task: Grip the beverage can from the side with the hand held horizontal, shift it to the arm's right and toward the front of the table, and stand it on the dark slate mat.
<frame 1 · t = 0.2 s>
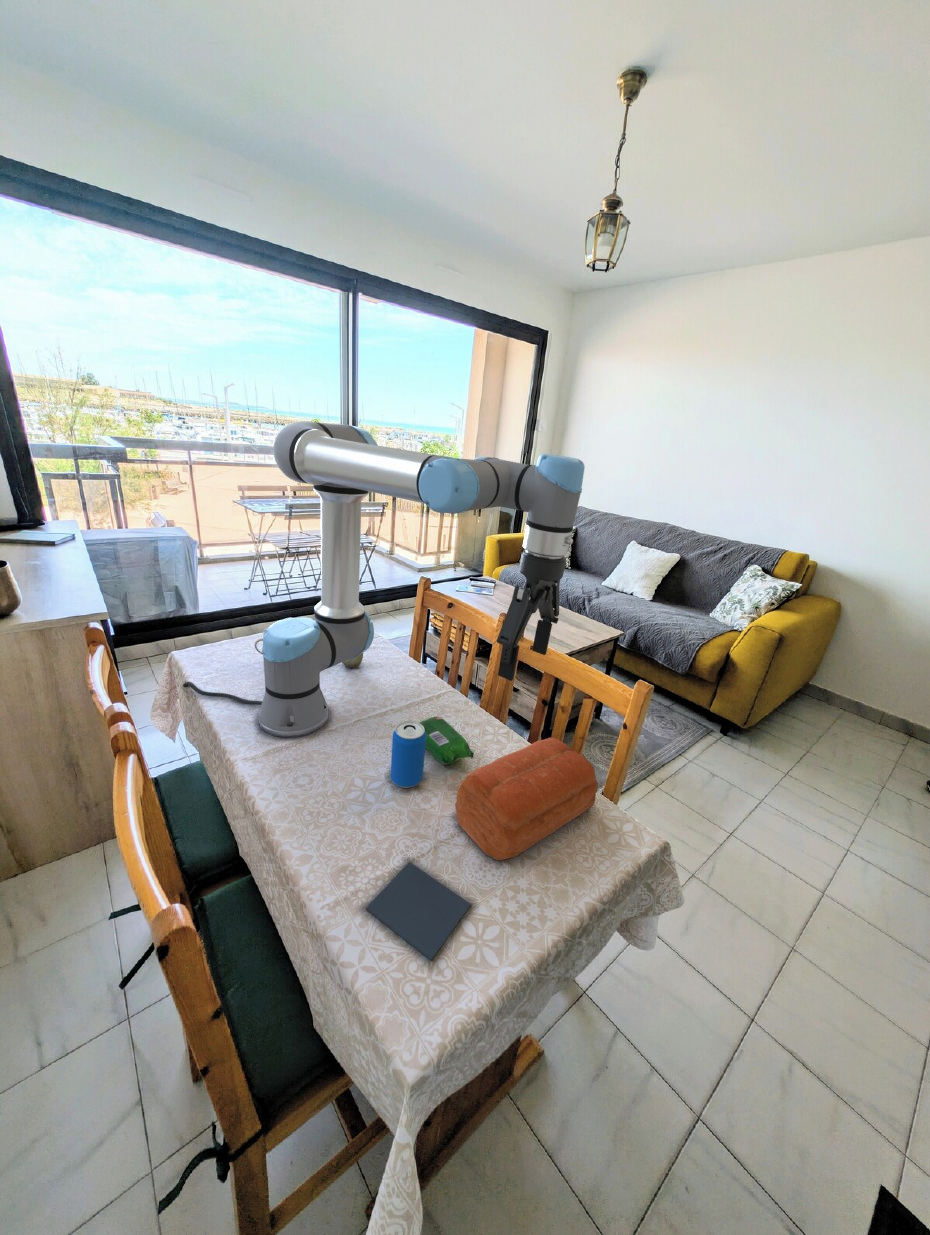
hand: (523, 664, 87), 28 cm above the table, tool pointing down, fingers open, 13 cm apart
beverage can: (406, 779, 95), on the table
mug: (278, 666, 131), on the table
bread: (525, 810, 90), on the table
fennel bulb: (351, 666, 135), on the table
snack package: (440, 750, 104), on the table
slate mat: (419, 907, 70), on the table
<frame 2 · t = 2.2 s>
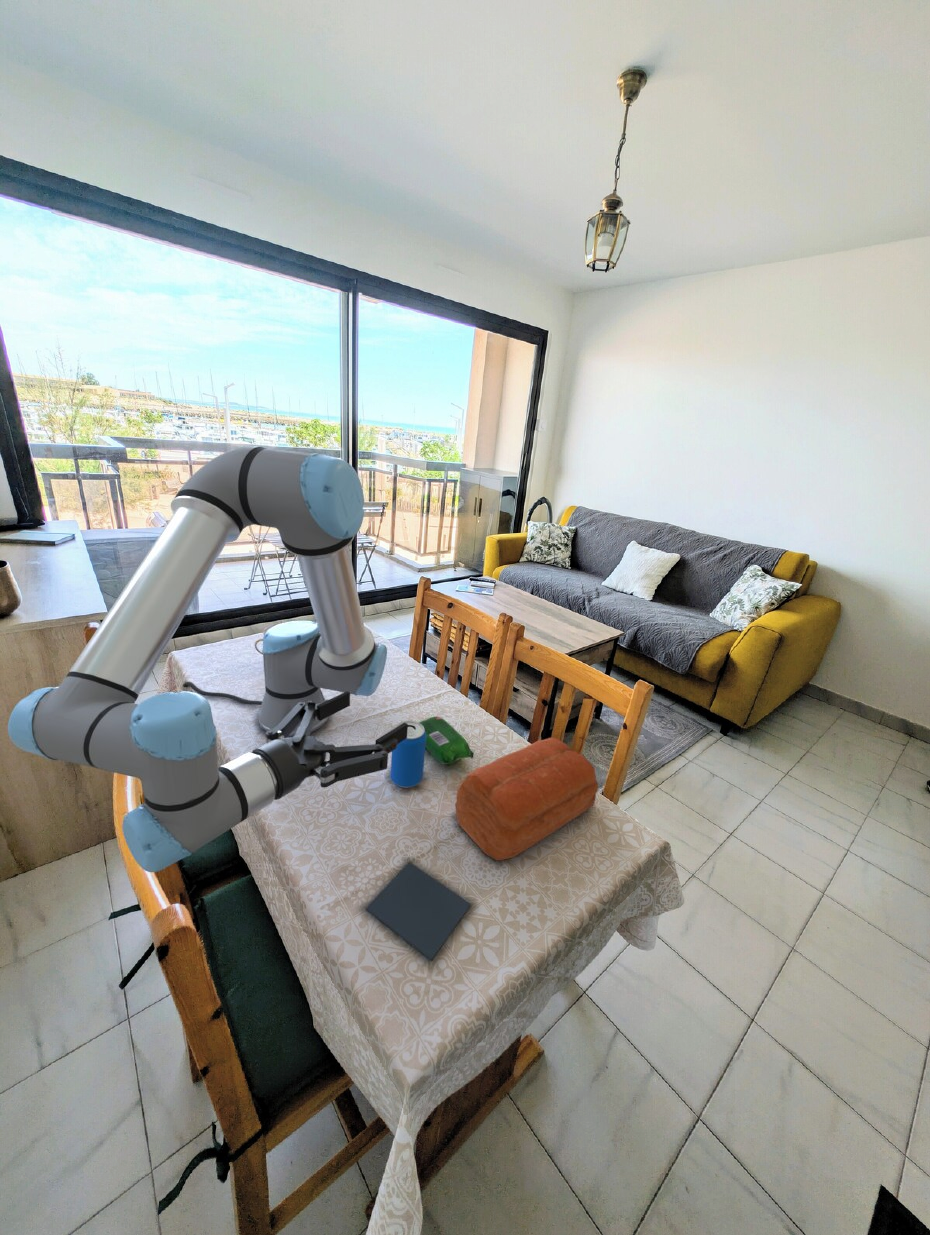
hand: (376, 713, 80), 20 cm above the table, tool horizontal, fingers open, 13 cm apart
nothing on the table moved.
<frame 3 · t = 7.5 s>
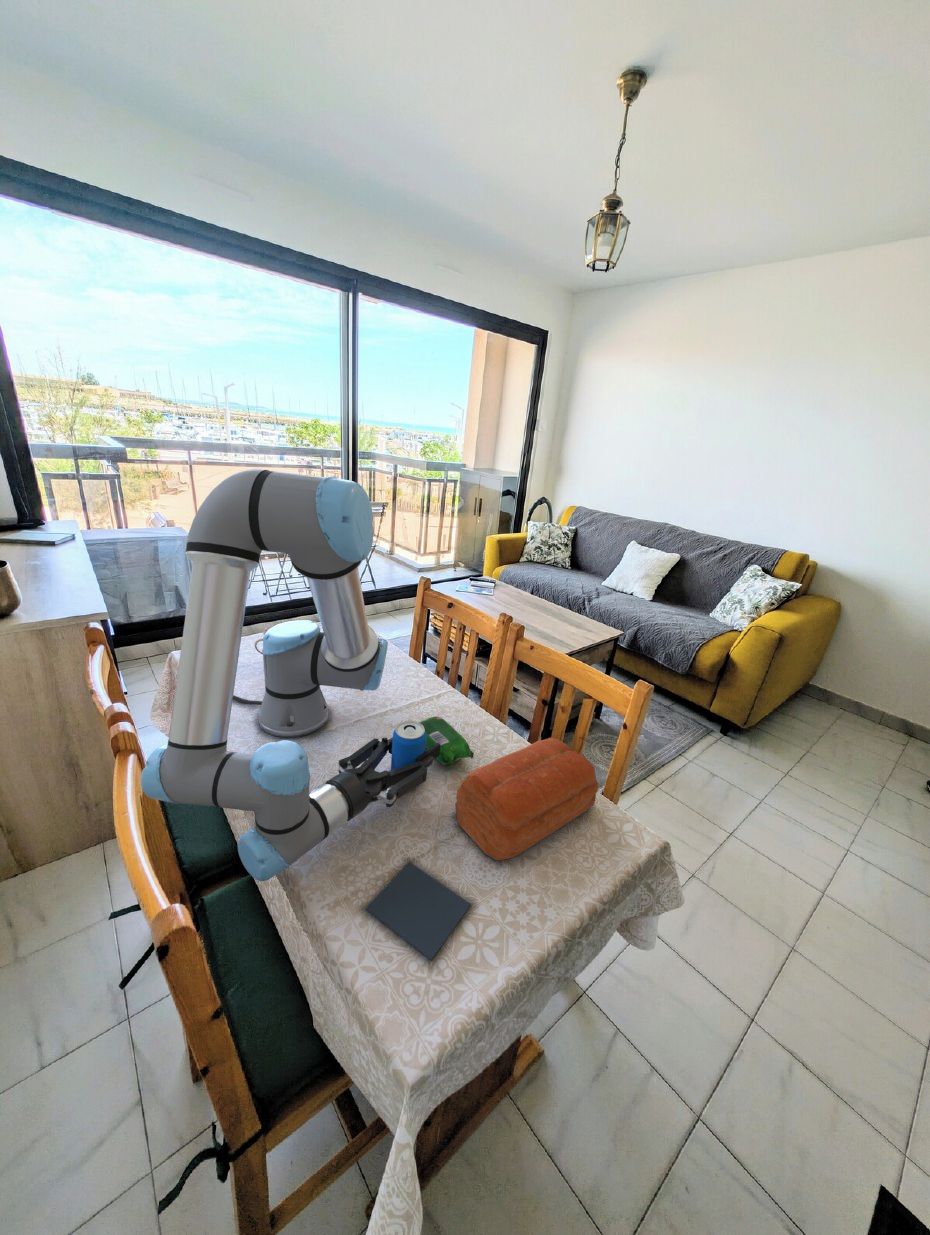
hand: (424, 741, 96), 6 cm above the table, tool horizontal, fingers closed on beverage can, 6 cm apart
beverage can: (406, 779, 95), on the table, touching gripper
everything else where it was.
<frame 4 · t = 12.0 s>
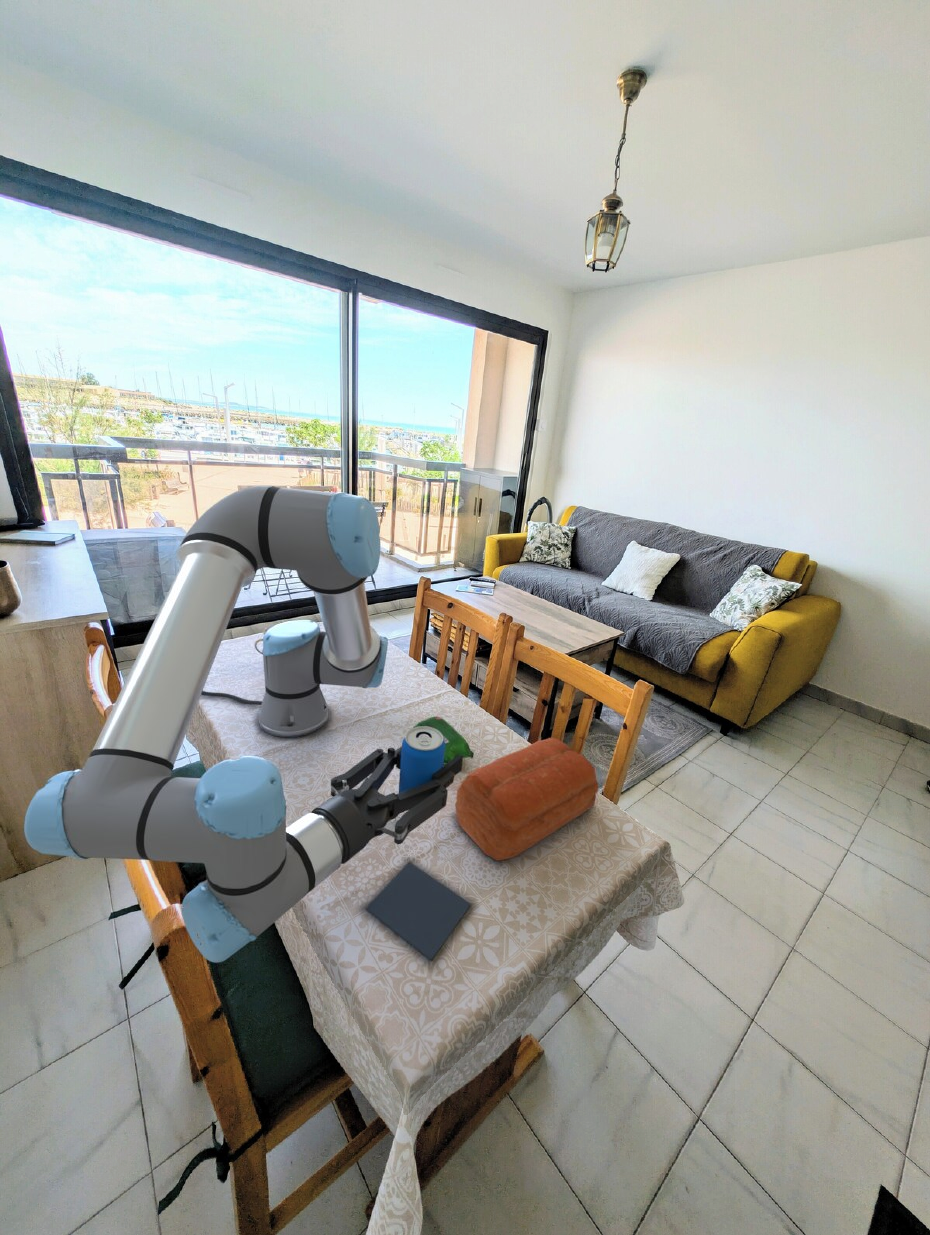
hand: (442, 752, 75), 18 cm above the table, tool horizontal, fingers closed on beverage can, 6 cm apart
beverage can: (418, 801, 74), point 12 cm above the table, touching gripper
everything else where it was.
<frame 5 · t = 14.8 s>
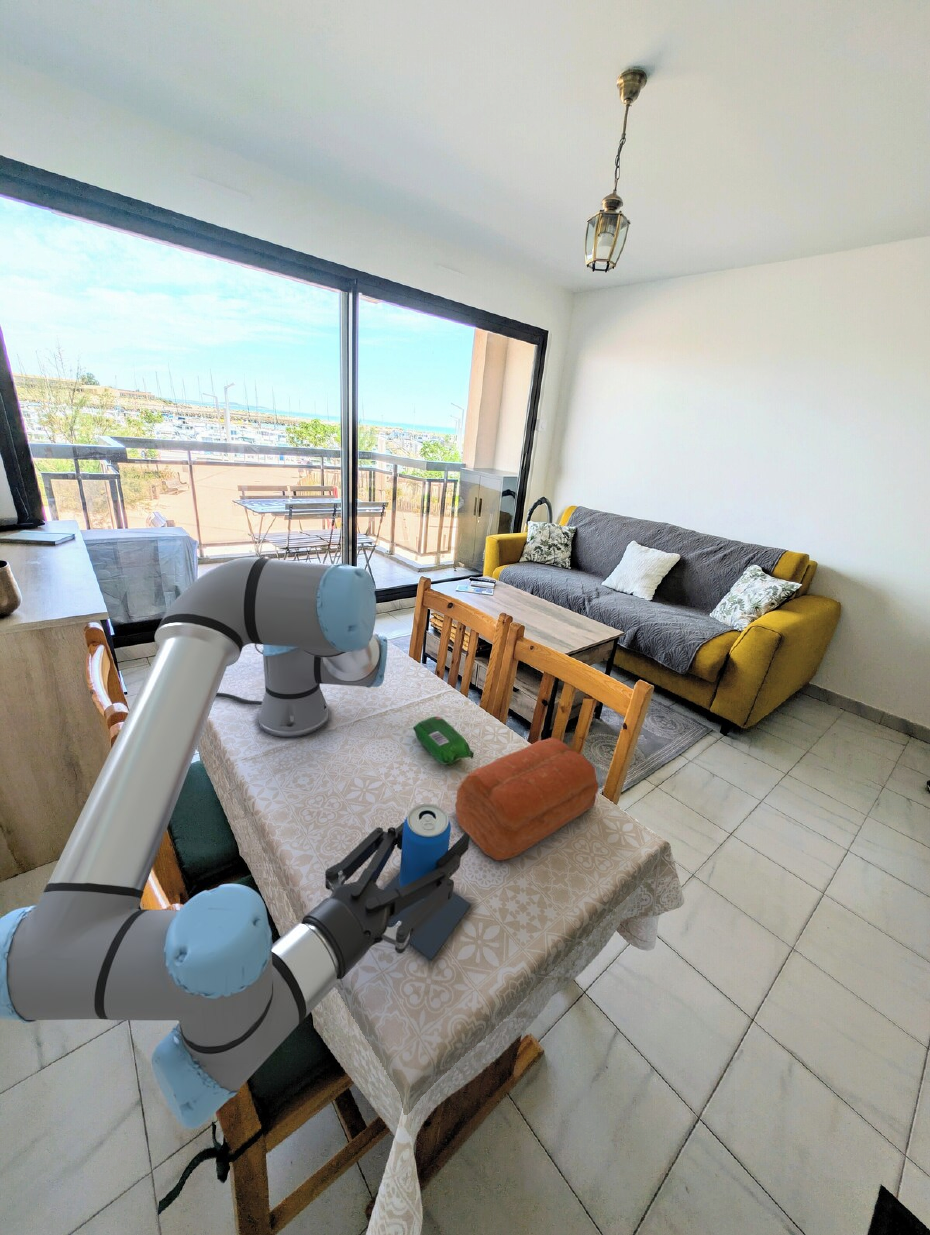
hand: (447, 828, 69), 12 cm above the table, tool horizontal, fingers closed on beverage can, 6 cm apart
beverage can: (421, 883, 68), point 5 cm above the table, touching gripper
everything else where it was.
when the fingers open (7 cm above the table, at t = 16.6 s): beverage can stays where it is, resting on slate mat.
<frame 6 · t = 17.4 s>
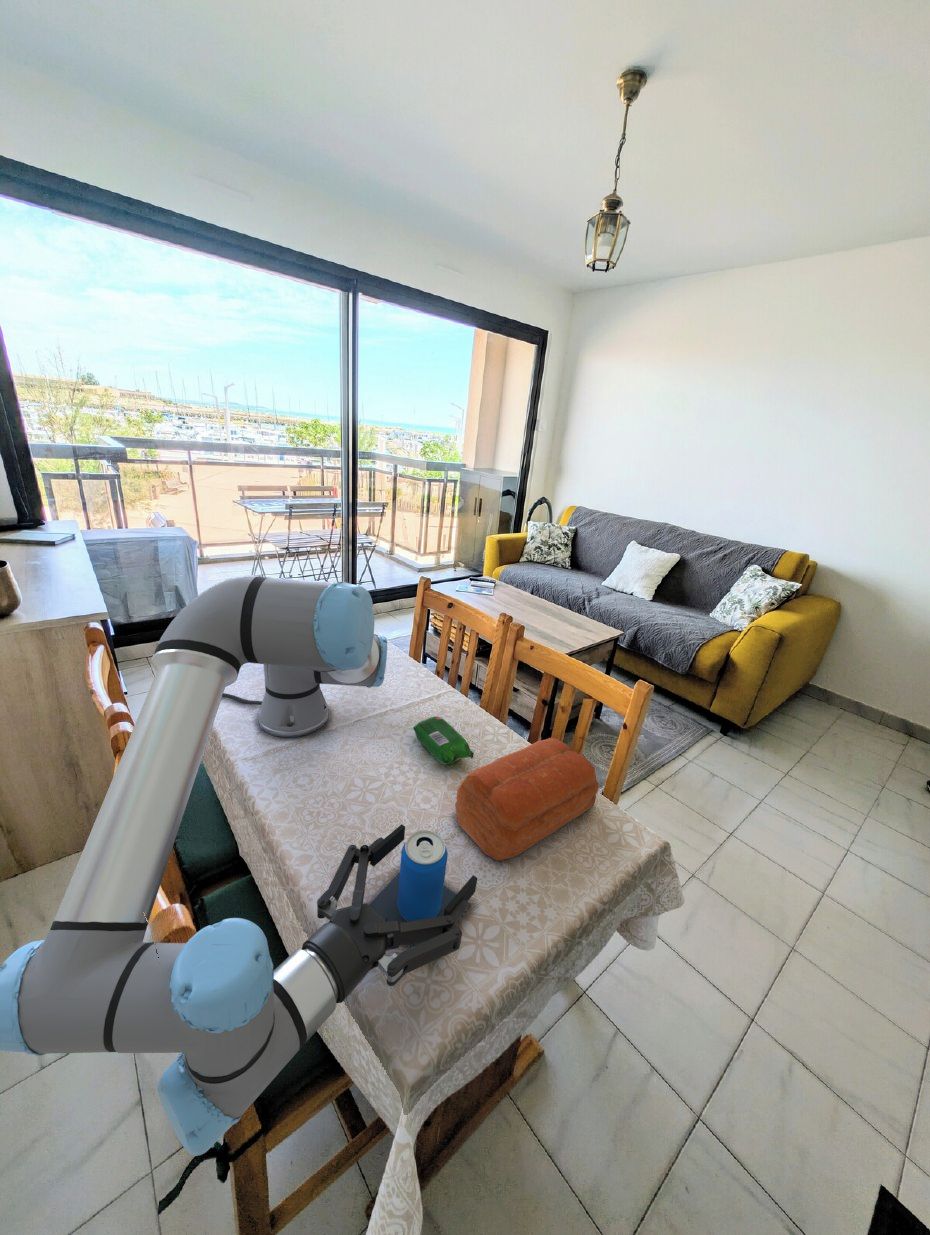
hand: (437, 856, 69), 8 cm above the table, tool horizontal, fingers open, 13 cm apart
beverage can: (419, 907, 70), resting on slate mat
everything else where it was.
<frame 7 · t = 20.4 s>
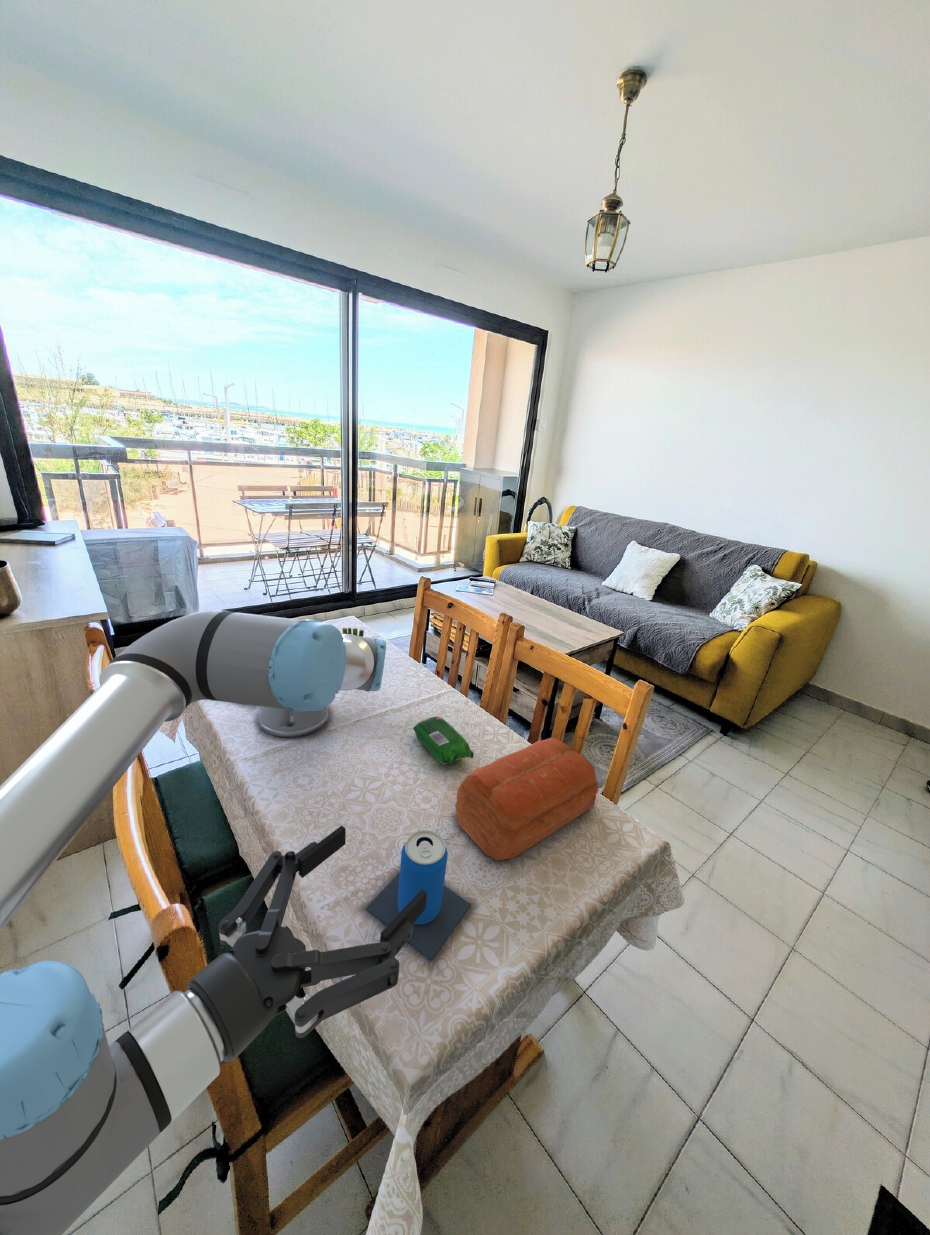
hand: (381, 864, 57), 17 cm above the table, tool horizontal, fingers open, 13 cm apart
nothing on the table moved.
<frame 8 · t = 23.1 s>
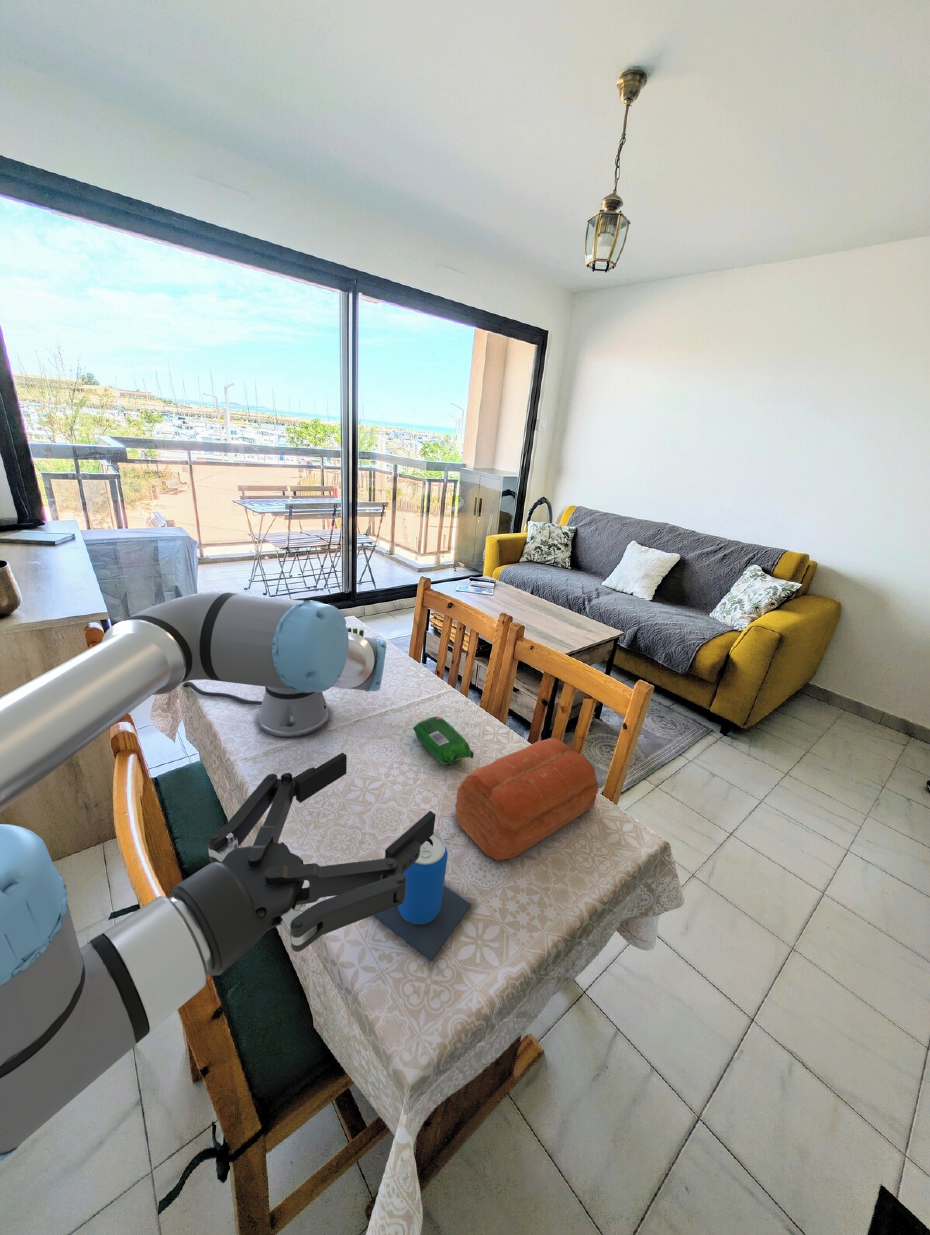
hand: (385, 790, 53), 28 cm above the table, tool horizontal, fingers open, 13 cm apart
nothing on the table moved.
at the end: beverage can inside the target area on the slate mat (0.1 cm from its centre), point 0.2 cm above the slate mat's base; beverage can tilted 0°; beverage can moved 27.7 cm from its start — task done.
